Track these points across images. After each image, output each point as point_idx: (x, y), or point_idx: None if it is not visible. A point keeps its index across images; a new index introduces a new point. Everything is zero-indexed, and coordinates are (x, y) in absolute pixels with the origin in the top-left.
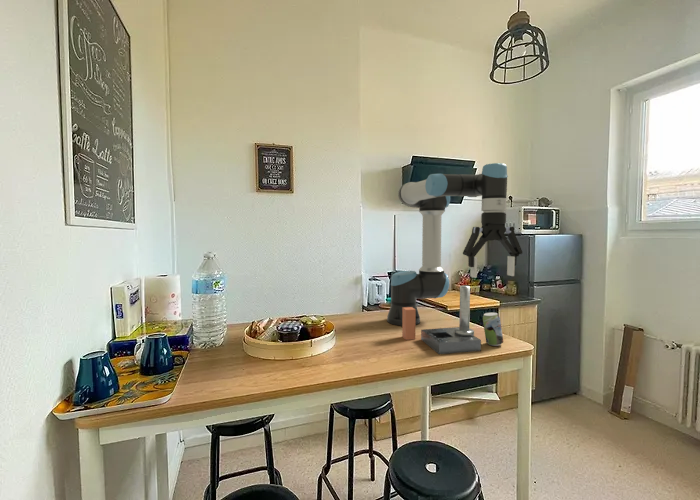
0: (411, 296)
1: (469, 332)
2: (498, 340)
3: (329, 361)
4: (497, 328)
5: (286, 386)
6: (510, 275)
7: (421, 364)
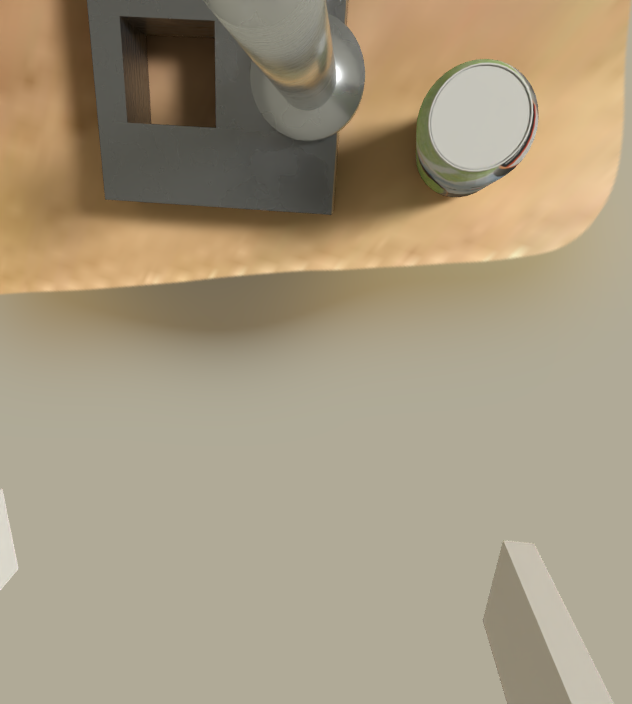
0: None
1: (313, 128)
2: (451, 195)
3: None
4: (462, 190)
5: None
6: (490, 596)
7: (28, 276)
